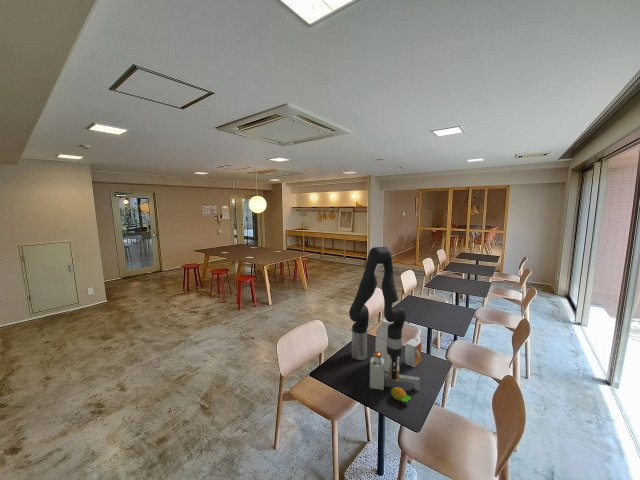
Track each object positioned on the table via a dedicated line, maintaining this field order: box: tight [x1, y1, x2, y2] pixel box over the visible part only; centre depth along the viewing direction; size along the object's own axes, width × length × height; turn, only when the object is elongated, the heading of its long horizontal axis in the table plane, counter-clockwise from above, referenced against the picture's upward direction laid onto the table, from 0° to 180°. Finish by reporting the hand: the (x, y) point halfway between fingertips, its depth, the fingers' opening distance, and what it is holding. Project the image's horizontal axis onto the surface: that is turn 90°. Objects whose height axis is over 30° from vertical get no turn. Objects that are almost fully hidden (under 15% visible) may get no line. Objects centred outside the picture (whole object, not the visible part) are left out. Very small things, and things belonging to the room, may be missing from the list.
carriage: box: [388, 364, 400, 383], centre depth 139 cm, size 5×5×6 cm
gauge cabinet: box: [369, 356, 385, 391], centre depth 142 cm, size 7×9×12 cm
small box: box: [404, 338, 423, 368], centre depth 159 cm, size 8×6×13 cm
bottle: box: [374, 317, 400, 373], centre depth 157 cm, size 14×14×28 cm
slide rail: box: [384, 372, 420, 392], centre depth 139 cm, size 18×2×6 cm, turn 75°
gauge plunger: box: [373, 351, 381, 365], centre depth 141 cm, size 4×4×9 cm
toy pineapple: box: [390, 386, 412, 403], centre depth 129 cm, size 7×10×5 cm
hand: (393, 374), depth 139 cm, fingers open, 8 cm apart
